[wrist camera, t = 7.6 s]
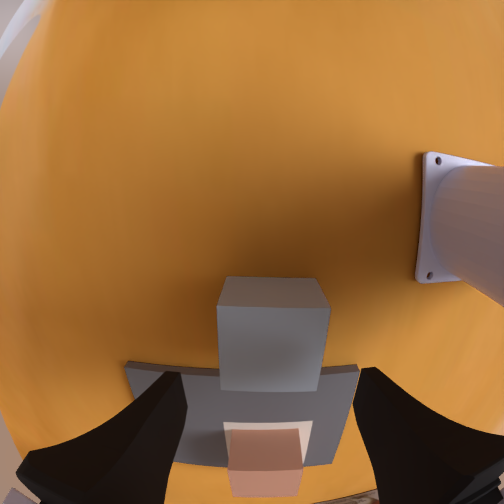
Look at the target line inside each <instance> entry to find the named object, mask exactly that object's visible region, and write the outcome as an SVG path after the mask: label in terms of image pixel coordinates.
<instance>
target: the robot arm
mask: <svg viewBox="0 0 504 504" xmlns="http://www.w3.org/2000/svg"><path fill="white" fill-rule="evenodd" d="M436 157H437V159H438V164H436V162H435V159H436ZM429 272H430V275H429V277H427V274H428V273H429ZM415 279H416V281H418V282H419V283H422V284H424V283H437V282H450V281H461V280H463V281H464V282H466V283H468V284H469V285H471V286H472V287H474V288H476V289H477V290H479V291H480V292H482V293H483V294H485V295H487V296H488V297H490V298H491V299H493V300H494V301H496V302H497V303H499V304H500V305H502V306H503V307H504V167H499V166H494V165H490V164H486V163H483V162H479V161H475V160H471V159H466V158H462V157H457V156H453V155H448V154H443V153H438V152H432V151H430V152H426V153H424V155H423V192H422V214H421V227H420V238H419V248H418V256H417V264H416V271H415ZM353 408H354V413H355V417H356V421H357V425H358V428H359V431H360V433H361V436H362V439H363V441H364V444H365V447H366V450H367V452H368V455H369V458H370V461H371V464H372V467H373V470H374V475H375V480H376V485H377V491H378V497H379V504H504V488H503V489H501V490H499V489H498V486H499V485H500V484H501V481H500V479H499V478H498V477H499V476H500V475H501V474H502V473H503V472H504V436H502V435H496V434H490V433H486V432H482V431H479V430H475V429H472V428H469V427H466V426H464V425H461V424H459V423H456V422H454V421H452V420H450V419H448V418H446V417H444V416H442V415H440V414H438V413H436V412H435V411H433V410H431V409H430V408H428V407H427V406H425V405H424V404H422V403H421V402H419V401H418V400H416V399H415V398H414V397H412V396H411V395H410V394H408V393H407V392H406V391H404V390H403V389H402V388H401V387H399V386H398V385H397V384H396V383H394V382H393V381H392V380H391V379H390V378H388V377H387V376H386V375H385V374H384V373H382V372H381V371H380V370H379V369H378V368H376V367H370V368H362V369H361V373H360V377H359V381H358V385H357V389H356V393H355V397H354V400H353ZM187 409H188V405H187V400H186V396H185V391H184V387H183V382H182V377H181V372H174V371H165V372H164V373H163V374H162V375H161V376H160V377H159V378H158V379H157V380H156V381H155V382H154V383H153V384H152V385H151V386H150V387H148V388H147V389H146V390H145V391H144V392H143V393H142V394H141V395H140V396H139V397H138V398H136V399H135V400H134V401H133V402H132V403H131V404H130V405H128V406H127V407H126V408H124V409H123V410H122V411H121V412H119V413H118V414H117V415H115V416H114V417H113V418H111V419H110V420H108V421H107V422H105V423H103V424H102V425H100V426H98V427H97V428H95V429H93V430H91V431H89V432H87V433H85V434H83V435H81V436H79V437H77V438H74V439H72V440H69V441H66V442H64V443H61V444H58V445H54V446H51V447H47V448H42V449H38V450H33V451H30V452H29V453H28V454H27V456H26V457H25V459H24V460H23V462H22V463H21V465H20V466H19V468H18V469H17V471H16V475H17V477H18V479H19V480H20V481H21V482H22V483H23V484H24V485H25V486H26V487H27V488H28V489H29V490H30V491H31V492H32V493H33V494H35V495H36V496H37V497H38V498H39V499H40V500H41V502H40V504H164V500H165V494H166V488H167V483H168V477H169V473H170V470H171V466H172V463H173V460H174V457H175V454H176V451H177V448H178V445H179V442H180V439H181V436H182V433H183V430H184V426H185V421H186V415H187ZM3 504H37V503H35V502H34V501H33V500H31V499H30V498H28V497H27V496H25V495H24V494H22V493H20V492H19V491H18V490H16V489H15V488H11V490H10V491H9V493H8V495H7V497H6V498H5V500H4V502H3Z"/></svg>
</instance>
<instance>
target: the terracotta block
mask: <svg viewBox="0 0 504 504" xmlns="http://www.w3.org/2000/svg"><path fill="white" fill-rule="evenodd" d="M227 471H228V476H229V480H230V485H231V489H232V494H233V497H287V496H297V494H298V490H299V486H300V482H301V477H302V473H303V461H302V453H301V444H300V436H299V428H295V429H272V430H239V429H232V434H231V443H230V452H229V460H228V469H227Z"/></svg>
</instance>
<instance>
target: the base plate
mask: <svg viewBox="0 0 504 504" xmlns="http://www.w3.org/2000/svg"><path fill="white" fill-rule="evenodd" d="M124 369H125V372H126V375H127V378H128V381H129V384H130V387H131V390H132V393H133V395H134V398H135V399H136V398H138V397H139V396H140V395H141V394H142V393H143V392H144V391H145V390H146V389H147V388H148V387H150V386H151V385H152V384H153V383H154V382H155V381H156V380H157V379H158V378H159V377H160V376H161V375H162V374H163V373H164V372H165V371H174V372H181V377H182V382H183V387H184V391H185V396H186V400H187V405H188V409H187V415H186V421H185V426H184V430H183V433H182V436H181V439H180V442H179V445H178V448H177V451H176V454H175V457H174V460H173V462H180V463H187V464H195V465H204V466H215V467H228V460H229V452H230V443H231V434H232V429H239V430H272V429H295V428H299V436H300V444H301V453H302V461H303V467H305V466H316V465H325V464H332V461H333V459H334V456H335V453H336V450H337V448H338V445H339V442H340V439H341V436H342V433H343V430H344V427H345V423H346V420H347V417H348V414H349V410H350V407H351V403H352V400H353V396H354V392H355V388H356V385H357V381H358V377H359V372H360V371H359V369H358V366H357V364H356V365H346V366H335V367H322V368H321V371H320V376H319V381H318V386H317V391H308V392H249V391H229V390H221V387H220V370H219V369H206V368H190V367H177V366H166V365H156V364H148V363H140V362H132V361H128V362H127V364H126V365H125V367H124Z"/></svg>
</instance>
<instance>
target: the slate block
mask: <svg viewBox="0 0 504 504" xmlns="http://www.w3.org/2000/svg"><path fill="white" fill-rule="evenodd" d="M330 312H331V307H330V305H329V303H328V301H327V299H326V297H325V295H324V293H323V291H322V289H321V287H320V285H319V284H318V282H317V280H316V278H279V277H241V276H227V277H226V280H225V283H224V286H223V289H222V292H221V294H220V297H219V300H218V303H217V328H218V350H219V370H220V387H221V390H229V391H249V392H308V391H317V386H318V381H319V376H320V371H321V366H322V361H323V355H324V349H325V344H326V338H327V331H328V325H329V318H330Z"/></svg>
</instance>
